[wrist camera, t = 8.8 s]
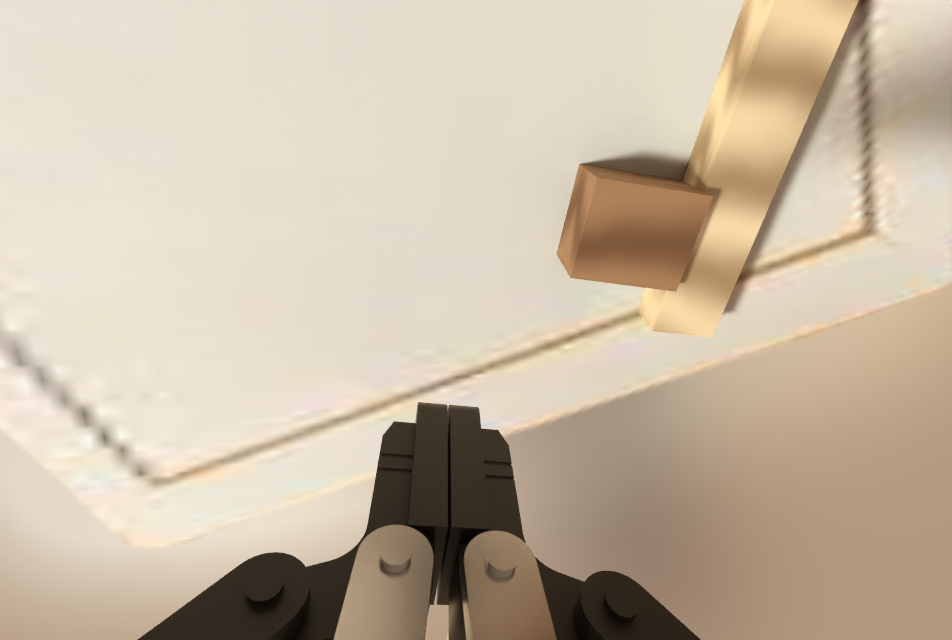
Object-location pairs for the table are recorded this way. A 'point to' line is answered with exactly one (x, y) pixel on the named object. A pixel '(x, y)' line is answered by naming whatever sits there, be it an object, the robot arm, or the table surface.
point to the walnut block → (630, 228)
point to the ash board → (748, 147)
